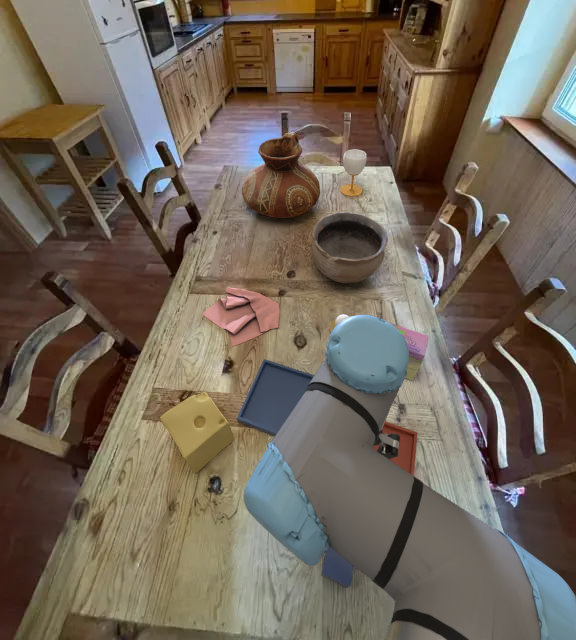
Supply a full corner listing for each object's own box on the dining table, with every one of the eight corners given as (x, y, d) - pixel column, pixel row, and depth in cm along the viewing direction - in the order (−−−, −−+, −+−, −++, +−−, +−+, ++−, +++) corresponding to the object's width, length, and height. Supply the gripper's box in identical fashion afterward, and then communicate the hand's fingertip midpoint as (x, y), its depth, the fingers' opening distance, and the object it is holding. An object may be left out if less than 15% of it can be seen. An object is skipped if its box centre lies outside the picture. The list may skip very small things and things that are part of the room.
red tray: (407, 519, 63) (410, 517, 61) (327, 486, 67) (328, 483, 65) (415, 435, 73) (417, 432, 71) (345, 411, 77) (346, 407, 75)
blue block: (347, 587, 56) (350, 586, 52) (320, 575, 58) (322, 572, 53) (353, 554, 59) (356, 549, 55) (328, 542, 61) (329, 537, 56)
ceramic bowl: (296, 268, 110) (295, 232, 99) (341, 237, 120) (345, 201, 109) (348, 308, 97) (354, 272, 87) (394, 270, 107) (404, 234, 97)
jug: (322, 226, 124) (325, 164, 107) (240, 229, 125) (230, 168, 107) (316, 182, 146) (318, 125, 129) (246, 185, 146) (238, 128, 129)
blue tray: (302, 447, 72) (302, 444, 70) (237, 422, 76) (236, 418, 75) (322, 381, 82) (322, 378, 81) (264, 362, 86) (263, 358, 85)
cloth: (288, 330, 93) (288, 325, 91) (208, 353, 88) (206, 348, 87) (268, 278, 107) (268, 272, 105) (199, 295, 103) (197, 290, 101)
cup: (338, 194, 139) (341, 158, 128) (342, 182, 145) (345, 147, 134) (360, 197, 137) (365, 161, 125) (364, 186, 143) (369, 150, 132)
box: (417, 361, 85) (429, 335, 77) (413, 381, 81) (425, 356, 73) (376, 346, 88) (383, 320, 80) (370, 365, 85) (377, 339, 76)
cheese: (212, 403, 79) (203, 383, 72) (238, 441, 73) (231, 423, 66) (171, 434, 75) (157, 416, 68) (195, 478, 68) (183, 463, 61)
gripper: (431, 402, 42) (396, 459, 58) (295, 361, 46) (298, 424, 63) (427, 469, 37) (390, 510, 53) (275, 415, 41) (284, 468, 58)
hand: (340, 463), depth 58 cm, fingers closed on red block, 4 cm apart
